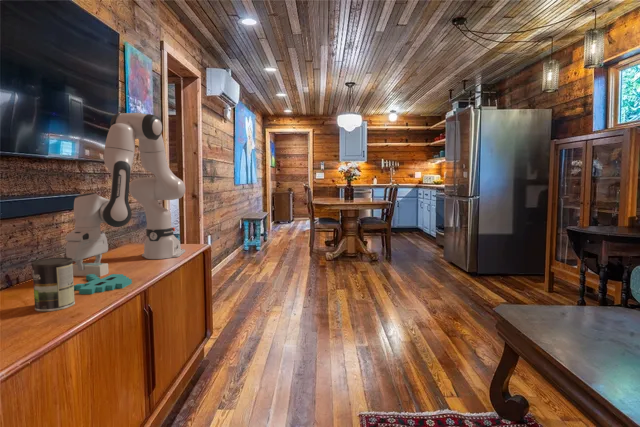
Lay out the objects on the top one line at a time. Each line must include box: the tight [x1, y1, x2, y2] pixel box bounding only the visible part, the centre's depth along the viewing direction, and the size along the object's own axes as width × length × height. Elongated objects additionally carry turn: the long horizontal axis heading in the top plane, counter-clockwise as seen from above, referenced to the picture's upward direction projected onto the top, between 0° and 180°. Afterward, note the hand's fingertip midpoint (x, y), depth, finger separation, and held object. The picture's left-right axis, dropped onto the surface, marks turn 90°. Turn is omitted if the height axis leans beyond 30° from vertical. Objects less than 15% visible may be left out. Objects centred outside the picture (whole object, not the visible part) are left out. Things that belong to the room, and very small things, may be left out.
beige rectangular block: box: [72, 262, 109, 277], centre depth 155 cm, size 13×5×5 cm, turn 83°
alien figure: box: [74, 273, 133, 295], centre depth 139 cm, size 20×2×20 cm
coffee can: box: [30, 256, 76, 312], centre depth 117 cm, size 10×10×14 cm
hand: (89, 267), depth 155 cm, fingers open, 8 cm apart
